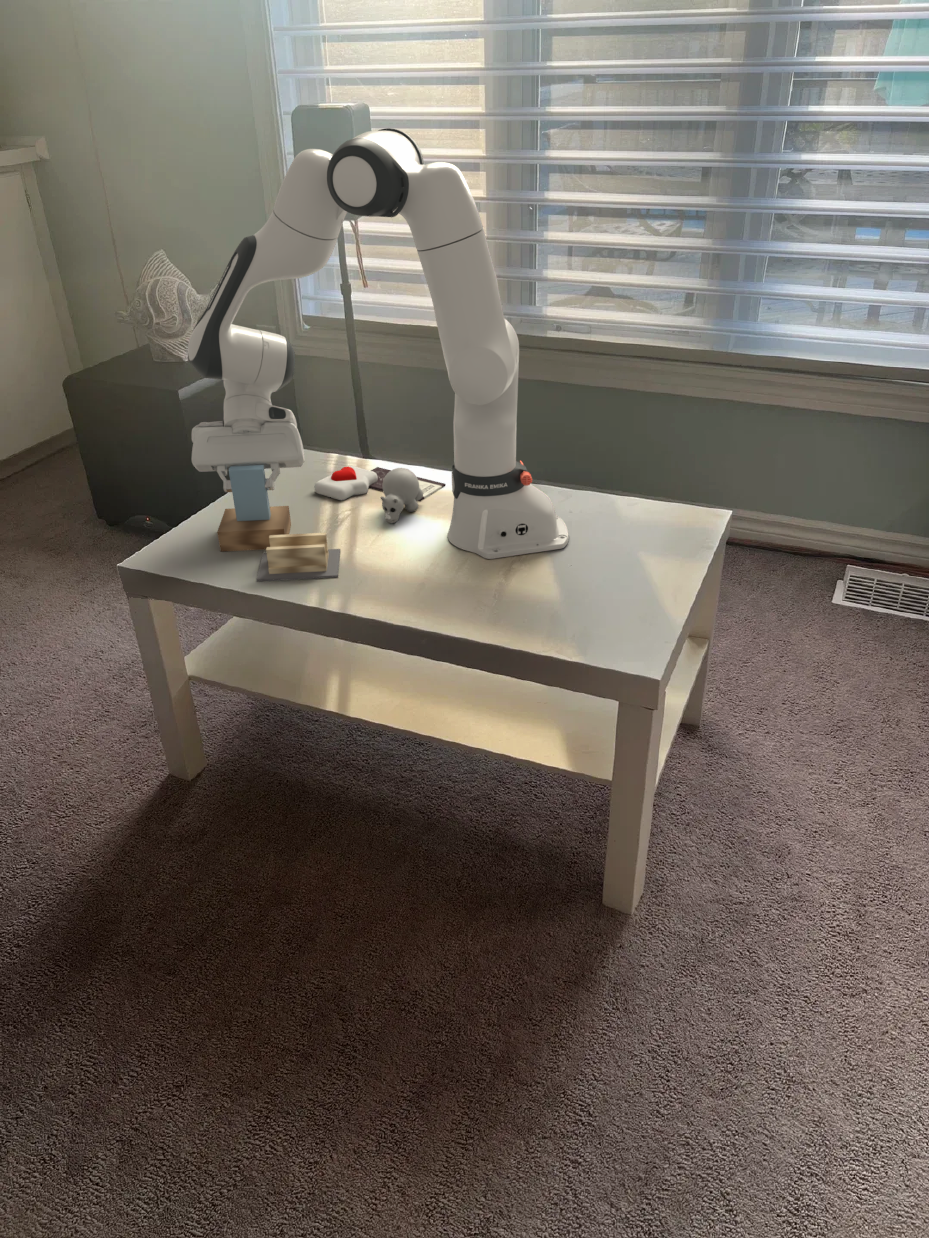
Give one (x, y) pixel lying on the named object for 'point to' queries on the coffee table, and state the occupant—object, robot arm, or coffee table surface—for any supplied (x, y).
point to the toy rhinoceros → (400, 493)
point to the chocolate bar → (424, 484)
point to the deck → (252, 530)
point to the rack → (297, 553)
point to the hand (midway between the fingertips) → (249, 490)
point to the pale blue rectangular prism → (249, 492)
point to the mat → (330, 573)
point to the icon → (346, 483)
